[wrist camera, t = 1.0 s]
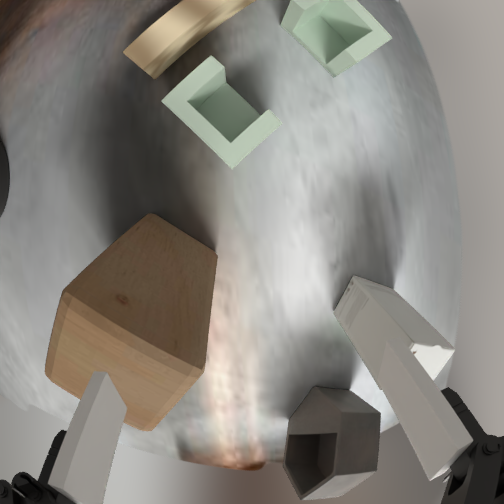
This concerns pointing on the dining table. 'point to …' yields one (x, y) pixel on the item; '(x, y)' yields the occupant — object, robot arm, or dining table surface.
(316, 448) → the planter
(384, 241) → the dining table surface
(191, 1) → the slat
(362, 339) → the skincare box
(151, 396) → the wooden block
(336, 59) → the end caps
